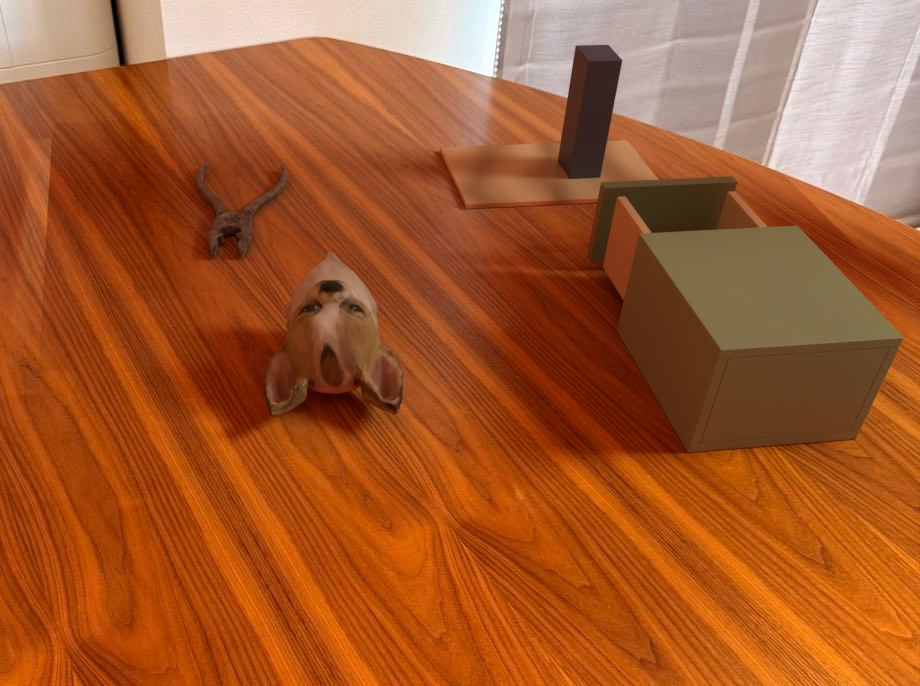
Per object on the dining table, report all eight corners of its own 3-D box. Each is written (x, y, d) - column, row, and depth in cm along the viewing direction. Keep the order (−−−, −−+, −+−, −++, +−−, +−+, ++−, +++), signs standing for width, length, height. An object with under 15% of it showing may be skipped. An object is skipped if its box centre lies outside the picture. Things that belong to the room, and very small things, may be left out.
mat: (626, 144, 112) (627, 139, 112) (670, 199, 102) (671, 194, 102) (439, 151, 110) (440, 147, 109) (466, 208, 100) (466, 204, 99)
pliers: (282, 155, 105) (312, 244, 92) (283, 163, 106) (312, 252, 92) (192, 161, 104) (209, 252, 90) (193, 169, 104) (210, 261, 91)
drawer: (573, 235, 94) (586, 161, 89) (694, 229, 96) (714, 156, 91) (642, 349, 81) (662, 270, 76) (782, 340, 82) (811, 261, 77)
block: (587, 159, 108) (608, 44, 99) (600, 177, 105) (622, 60, 96) (557, 161, 107) (575, 45, 99) (569, 179, 104) (588, 60, 96)
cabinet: (616, 330, 84) (638, 233, 78) (763, 321, 86) (797, 225, 79) (687, 453, 73) (720, 349, 66) (856, 439, 74) (904, 337, 68)
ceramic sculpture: (396, 232, 77) (410, 348, 67) (393, 323, 84) (405, 441, 74) (262, 234, 77) (255, 351, 67) (269, 325, 83) (264, 444, 73)
